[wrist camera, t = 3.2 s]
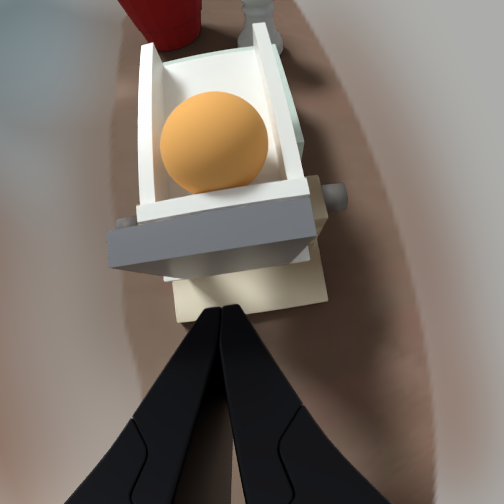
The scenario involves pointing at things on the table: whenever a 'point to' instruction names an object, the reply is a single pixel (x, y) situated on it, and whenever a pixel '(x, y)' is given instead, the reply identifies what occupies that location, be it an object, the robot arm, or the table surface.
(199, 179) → the ball
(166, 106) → the chute
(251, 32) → the rook chess piece
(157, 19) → the plastic cup
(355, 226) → the table surface
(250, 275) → the stand
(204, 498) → the robot arm
